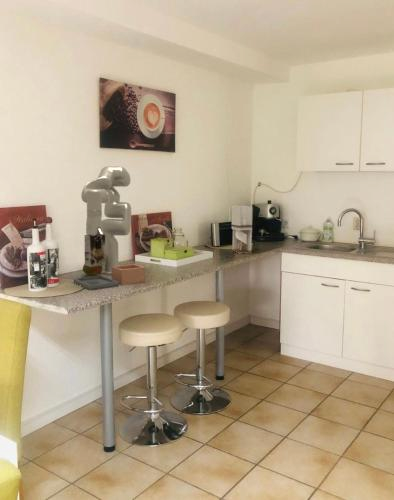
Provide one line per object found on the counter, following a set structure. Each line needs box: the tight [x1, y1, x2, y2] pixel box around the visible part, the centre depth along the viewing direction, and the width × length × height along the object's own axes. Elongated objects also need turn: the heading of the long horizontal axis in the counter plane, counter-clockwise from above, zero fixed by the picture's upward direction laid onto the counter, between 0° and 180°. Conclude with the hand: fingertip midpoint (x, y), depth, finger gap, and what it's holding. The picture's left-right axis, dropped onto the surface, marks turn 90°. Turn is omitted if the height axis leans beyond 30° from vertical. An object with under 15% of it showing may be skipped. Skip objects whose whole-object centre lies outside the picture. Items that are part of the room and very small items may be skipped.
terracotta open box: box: [111, 263, 146, 286], centre depth 270 cm, size 11×14×8 cm
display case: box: [230, 205, 253, 252], centre depth 370 cm, size 11×11×35 cm
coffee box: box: [84, 234, 106, 267], centre depth 259 cm, size 9×6×16 cm
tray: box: [73, 274, 120, 291], centre depth 261 cm, size 20×16×2 cm
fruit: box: [82, 263, 103, 277], centre depth 282 cm, size 12×13×10 cm
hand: (95, 247), depth 259 cm, fingers closed on coffee box, 7 cm apart
